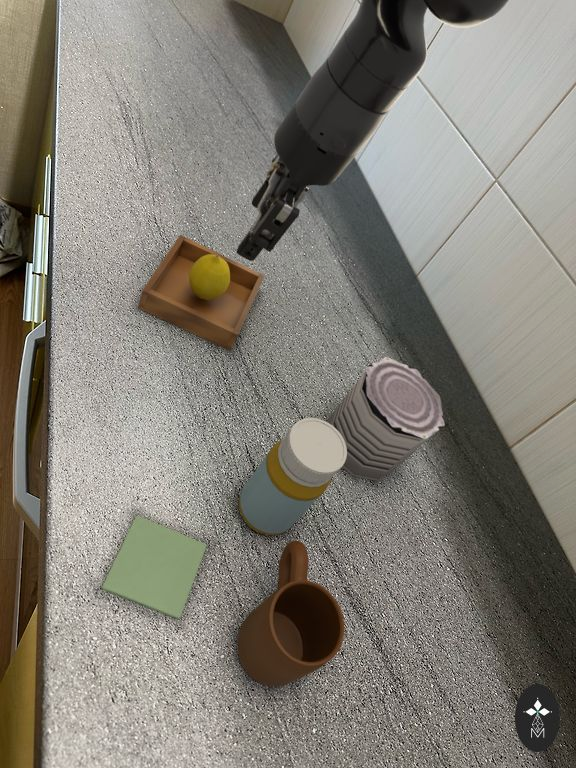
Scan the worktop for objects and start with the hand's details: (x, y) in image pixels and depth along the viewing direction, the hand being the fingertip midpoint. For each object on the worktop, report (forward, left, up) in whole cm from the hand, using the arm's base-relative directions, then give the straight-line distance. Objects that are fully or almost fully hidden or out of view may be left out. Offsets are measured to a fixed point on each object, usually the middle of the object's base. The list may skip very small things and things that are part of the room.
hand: (251, 230), depth 66 cm
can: (+25, -7, -18) cm, 32 cm away
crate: (-3, +5, -18) cm, 19 cm away
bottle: (+15, -22, -18) cm, 32 cm away
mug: (+19, -34, -18) cm, 43 cm away
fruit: (-3, +5, -18) cm, 18 cm away
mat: (+6, -33, -18) cm, 38 cm away
